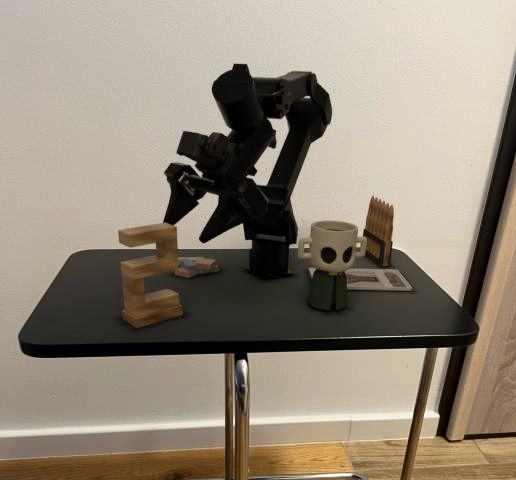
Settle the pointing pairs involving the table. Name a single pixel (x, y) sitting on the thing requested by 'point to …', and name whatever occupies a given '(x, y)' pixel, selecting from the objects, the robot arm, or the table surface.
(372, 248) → the ammunition clip
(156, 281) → the table surface
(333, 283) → the character mug
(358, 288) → the graded card
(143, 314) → the wooden numeral
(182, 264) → the letter pile
